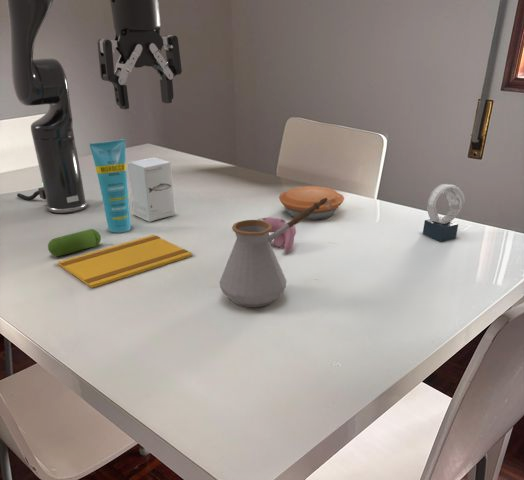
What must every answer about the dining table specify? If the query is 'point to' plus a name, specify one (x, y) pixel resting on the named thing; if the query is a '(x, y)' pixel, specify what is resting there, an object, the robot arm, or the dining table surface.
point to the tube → (113, 182)
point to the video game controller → (284, 237)
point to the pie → (311, 201)
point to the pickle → (74, 242)
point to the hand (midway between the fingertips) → (146, 105)
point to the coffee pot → (257, 262)
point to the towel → (123, 260)
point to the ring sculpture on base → (443, 226)
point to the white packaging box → (151, 188)
